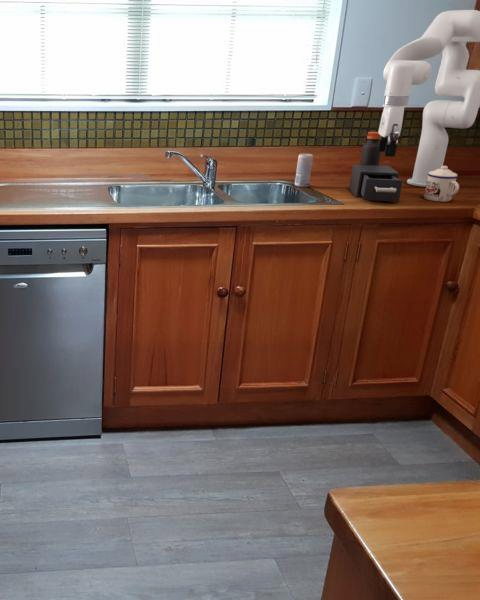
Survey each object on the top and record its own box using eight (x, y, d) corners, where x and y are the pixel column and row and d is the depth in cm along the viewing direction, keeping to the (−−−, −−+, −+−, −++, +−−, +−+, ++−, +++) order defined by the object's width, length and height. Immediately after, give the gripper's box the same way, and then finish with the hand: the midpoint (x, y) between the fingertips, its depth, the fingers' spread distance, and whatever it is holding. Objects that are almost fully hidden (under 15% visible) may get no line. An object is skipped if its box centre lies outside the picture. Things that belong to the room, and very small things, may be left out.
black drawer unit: (402, 204, 204) (406, 183, 201) (365, 203, 206) (369, 181, 203) (389, 193, 220) (393, 173, 217) (355, 191, 223) (359, 171, 220)
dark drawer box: (393, 198, 216) (399, 173, 213) (356, 197, 219) (360, 171, 215) (384, 190, 229) (389, 165, 226) (348, 188, 232) (352, 164, 228)
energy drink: (307, 184, 238) (311, 153, 234) (310, 187, 233) (315, 155, 229) (293, 184, 239) (297, 153, 234) (296, 187, 234) (300, 155, 229)
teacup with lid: (416, 197, 218) (423, 164, 214) (437, 195, 221) (444, 163, 216) (443, 204, 208) (451, 170, 203) (464, 203, 210) (473, 169, 206)
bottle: (353, 185, 237) (362, 132, 230) (359, 182, 242) (368, 130, 235) (371, 187, 233) (381, 134, 226) (377, 184, 238) (387, 132, 230)
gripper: (377, 99, 210) (369, 149, 217) (389, 104, 195) (380, 158, 202) (401, 99, 209) (391, 149, 215) (415, 104, 193) (404, 158, 200)
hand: (386, 153), depth 209 cm, fingers open, 9 cm apart
